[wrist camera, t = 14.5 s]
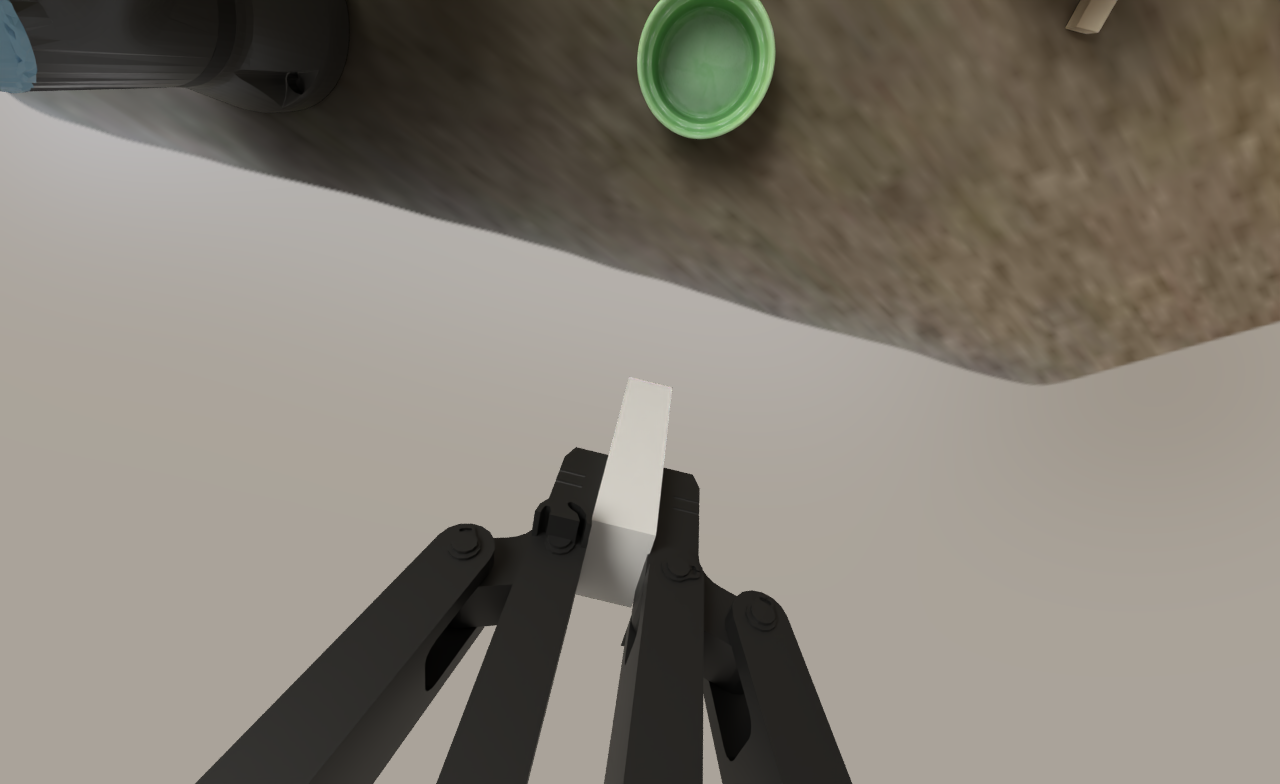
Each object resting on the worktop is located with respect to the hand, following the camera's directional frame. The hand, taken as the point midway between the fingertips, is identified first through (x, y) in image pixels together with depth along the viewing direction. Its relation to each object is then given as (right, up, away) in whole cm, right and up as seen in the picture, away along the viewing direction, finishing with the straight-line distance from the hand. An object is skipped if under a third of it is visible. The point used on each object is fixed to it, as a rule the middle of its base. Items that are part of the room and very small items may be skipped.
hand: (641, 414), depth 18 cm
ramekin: (+5, +25, +19) cm, 32 cm away
